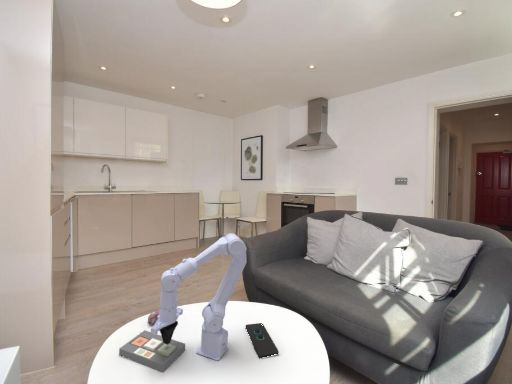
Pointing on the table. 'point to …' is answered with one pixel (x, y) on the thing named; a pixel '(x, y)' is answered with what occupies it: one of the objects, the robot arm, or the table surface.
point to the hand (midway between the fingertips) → (166, 342)
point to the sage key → (166, 350)
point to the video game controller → (153, 316)
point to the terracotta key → (140, 341)
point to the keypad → (148, 356)
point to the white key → (153, 345)
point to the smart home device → (261, 340)
